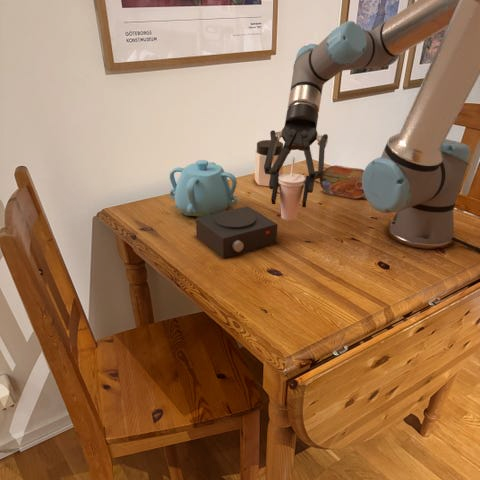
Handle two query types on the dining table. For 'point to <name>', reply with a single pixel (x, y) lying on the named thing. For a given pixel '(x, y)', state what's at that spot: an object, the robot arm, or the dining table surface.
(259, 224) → the hot plate
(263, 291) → the dining table surface
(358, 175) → the tin
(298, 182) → the smoothie
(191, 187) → the decorative pot
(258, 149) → the jar
